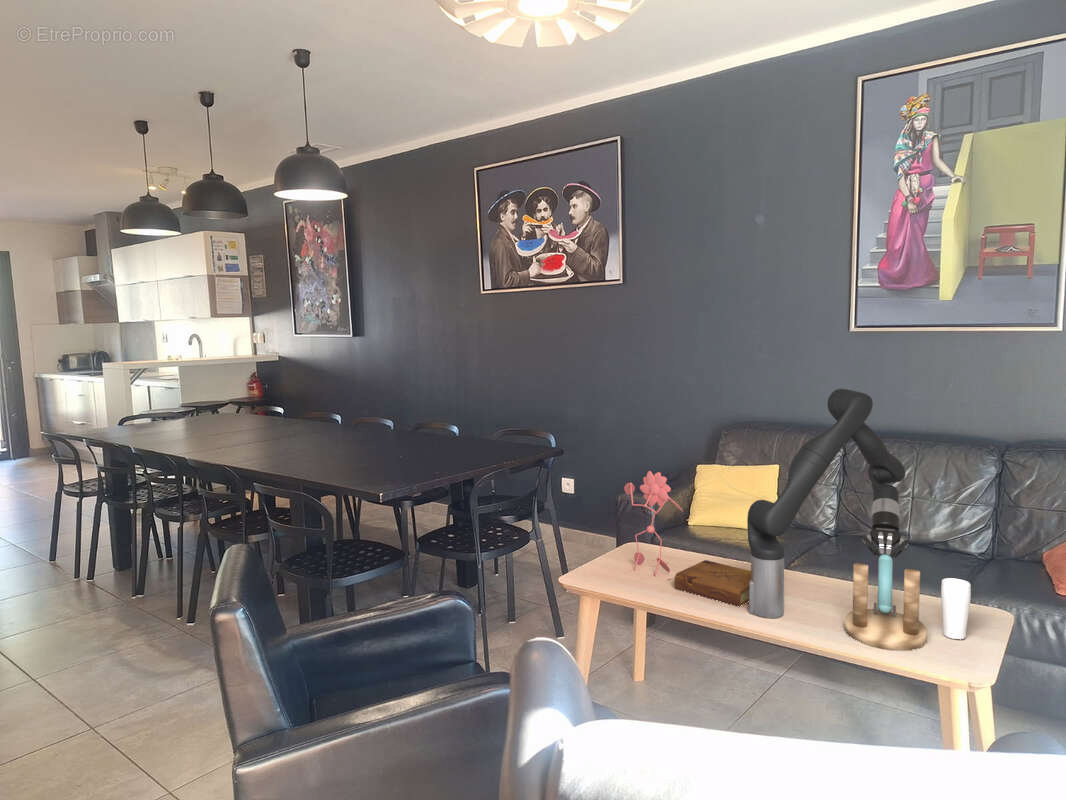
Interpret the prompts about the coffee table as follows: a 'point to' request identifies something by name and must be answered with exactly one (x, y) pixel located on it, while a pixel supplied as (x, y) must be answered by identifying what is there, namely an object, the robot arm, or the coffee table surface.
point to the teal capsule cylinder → (885, 583)
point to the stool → (886, 615)
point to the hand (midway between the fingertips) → (884, 567)
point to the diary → (716, 582)
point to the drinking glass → (955, 607)
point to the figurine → (653, 493)
